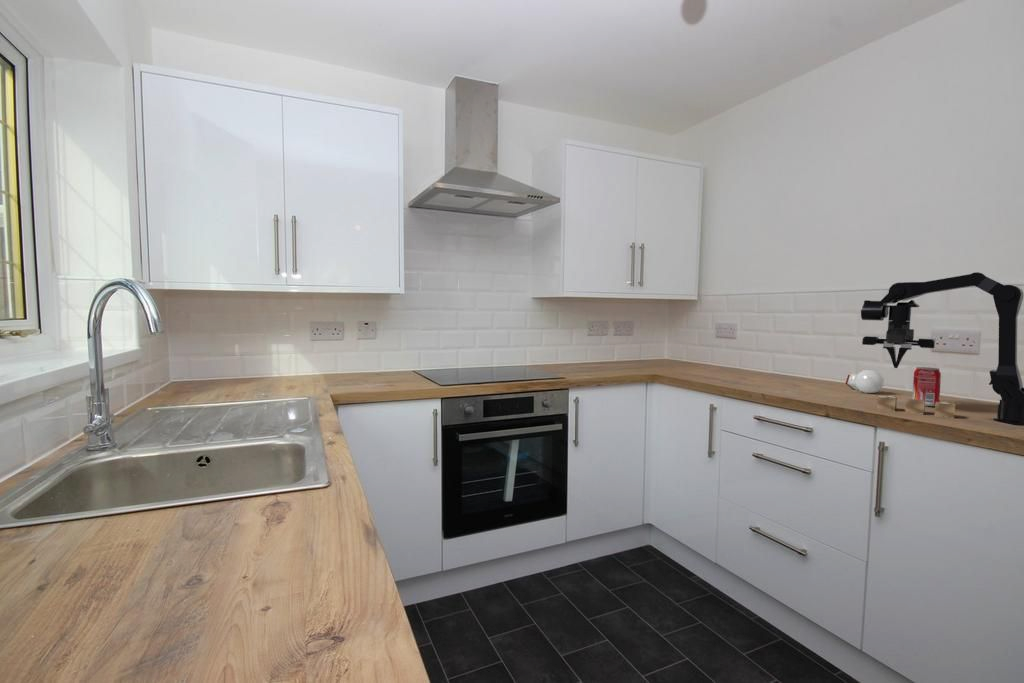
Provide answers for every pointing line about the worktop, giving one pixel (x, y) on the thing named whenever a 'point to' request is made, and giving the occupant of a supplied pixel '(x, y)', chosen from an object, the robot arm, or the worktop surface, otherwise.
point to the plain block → (915, 405)
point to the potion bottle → (866, 381)
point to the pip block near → (945, 409)
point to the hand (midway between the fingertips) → (895, 368)
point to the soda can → (927, 385)
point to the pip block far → (887, 402)
